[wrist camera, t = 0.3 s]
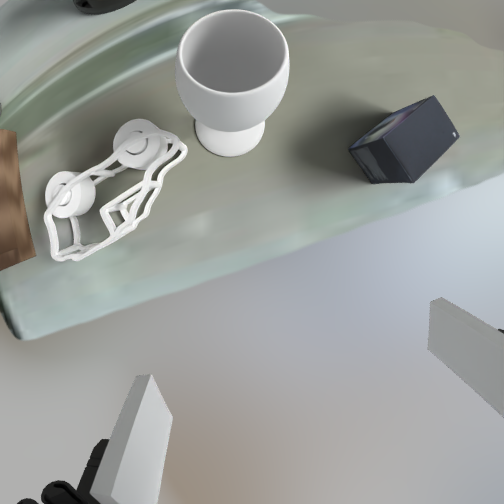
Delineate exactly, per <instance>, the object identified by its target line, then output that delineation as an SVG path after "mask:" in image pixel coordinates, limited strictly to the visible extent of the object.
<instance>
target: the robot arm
mask: <svg viewBox="0 0 504 504" xmlns="http://www.w3.org/2000/svg"><path fill="white" fill-rule="evenodd" d="M134 1H136V0H73V2H74V4H75V5H76V6H77V8H78V9H79V10H80V11H82V12H84V13H86V14H104V13H109V12H112V11H115V10H118V9H120V8H123V7H125V6H127V5H129V4H131V3H133V2H134ZM428 350H429V351H430V352H431V353H432V354H434V355H435V356H436V357H437V358H438V359H439V360H441V361H442V362H443V363H444V364H445V365H446V366H447V367H448V368H450V369H451V370H452V371H453V372H454V373H455V374H456V375H458V376H459V377H460V378H461V379H462V380H463V381H464V382H465V383H466V384H468V385H469V386H470V387H471V388H472V389H473V390H474V391H475V392H476V393H478V394H479V395H480V396H481V397H482V398H483V399H484V400H485V401H486V402H487V403H488V404H490V405H491V406H492V407H493V408H494V409H495V410H496V411H497V412H498V413H499V414H500V415H501V416H502V417H503V418H504V330H501V329H498V330H497V329H495V328H493V327H492V326H490V325H488V324H487V323H485V322H484V321H482V320H480V319H478V318H477V317H475V316H473V315H472V314H470V313H468V312H466V311H465V310H463V309H461V308H460V307H458V306H456V305H454V304H453V303H451V302H449V301H447V300H446V299H444V298H442V297H441V298H438V299H436V300H433V301H431V302H430V319H429V338H428ZM172 419H173V417H172V415H171V413H170V411H169V409H168V407H167V405H166V403H165V401H164V399H163V397H162V395H161V394H160V391H159V389H158V387H157V385H156V383H155V380H154V378H153V376H152V374H147V375H139V376H136V378H135V380H134V382H133V385H132V387H131V389H130V391H129V394H128V396H127V398H126V401H125V403H124V406H123V408H122V410H121V413H120V415H119V418H118V420H117V422H116V425H115V427H114V430H113V432H112V435H111V437H110V439H102V440H101V441H100V442H99V443H98V444H97V445H96V446H95V447H94V449H93V451H92V453H91V456H90V459H89V460H88V463H87V467H86V468H85V470H84V473H83V475H82V477H81V480H80V483H79V485H78V488H77V490H75V489H74V488H73V487H72V486H71V485H70V484H69V483H67V482H65V481H59V480H58V481H55V482H51V483H50V484H48V485H47V486H46V487H45V488H44V489H43V492H42V494H41V500H42V502H43V503H44V504H157V503H158V497H159V491H160V485H161V479H162V473H163V468H164V462H165V456H166V451H167V446H168V440H169V435H170V430H171V425H172ZM17 504H38V503H37V502H36V501H35V500H33V499H28V498H26V499H23V500H21V501H19V502H18V503H17Z"/></svg>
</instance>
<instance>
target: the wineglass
mask: <svg viewBox="0 0 504 504" xmlns="http://www.w3.org/2000/svg"><path fill="white" fill-rule="evenodd" d="M288 77H289V52H288V46H287V43H286V40H285V38H284V36H283V34H282V32H281V31H280V30H279V29H278V27H277V26H276V25H275V24H273V23H272V22H271V21H270V20H268V19H267V18H265V17H263V16H261V15H259V14H256V13H253V12H250V11H245V10H236V9H232V10H222V11H217V12H214V13H211V14H208V15H206V16H204V17H202V18H200V19H199V20H197V21H196V22H195V23H193V24H192V25H191V26H190V27H189V28H188V29H187V31H186V32H185V33H184V35H183V36H182V38H181V40H180V43H179V46H178V50H177V55H176V63H175V79H176V85H177V90H178V93H179V96H180V98H181V100H182V102H183V104H184V106H185V107H186V109H187V110H188V111H189V113H190V114H191V115H192V116H193V117H194V118H195V119H196V122H195V128H196V133H197V136H198V138H199V140H200V142H201V143H202V145H203V146H204V147H205V148H206V149H208V150H209V151H211V152H212V153H214V154H217V155H220V156H225V157H234V156H239V155H242V154H245V153H247V152H249V151H250V150H251V149H253V148H254V147H255V146H256V145H257V144H258V142H259V141H260V139H261V138H262V135H263V132H264V127H265V121H264V120H265V119H266V118H268V117H269V116H270V115H271V114H272V112H273V111H274V110H275V109H276V107H277V106H278V104H279V103H280V101H281V99H282V97H283V95H284V93H285V90H286V87H287V83H288Z"/></svg>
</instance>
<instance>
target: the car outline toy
mask: <svg viewBox="0 0 504 504" xmlns="http://www.w3.org/2000/svg"><path fill="white" fill-rule="evenodd" d="M166 137H167V138H169V139H166ZM168 144H173V146H172V148H171V149H170V150H169V151H168V152H167V150H168ZM178 149H179V150H180V151H181V154H180V156H179V157H178V158H177V159H175V160H174V161H172V162H171V163H169V164H168V165H167V166H165V167H164V168H163V169H162V170H161V172H160V173H159V175H158V178H157V181H151V177H152V174H153V172H154V171H155V170H156V169H157V167H158V166H160V165H161V164H162V163H164V162H165V161H167V160H168V159H170V158H171V157H172V156H174V155H175V153H176V152H177V151H178ZM113 150H114V153H113V154H112V155H111V156H110V157H109V158H108V159H106V160H105V161H104V162H102V163H101V164H99V165H97V166H94V167H92V168H90V169H88V170H87V171H85V172H83V173H80V172H70V171H63V172H59V173H57V174H55V175H54V176H53V177H52V178H51V179H50V181H49V183H48V185H47V187H46V192H45V201H46V204H47V207H48V209H47V210H46V212H45V214H44V222H45V224H46V226H47V228H48V233H49V237H50V243H51V256H52V258H53V259H54V260H56V261H61V262H62V261H65V260H67V259H72V260H73V261H79V260H81V259H83V258H85V257H87V256H89V255H91V254H93V253H94V252H96V251H97V250H99V249H101V248H103V247H105V246H107V245H109V244H111V243H113V242H114V241H116V240H118V239H120V238H121V237H123V236H125V235H126V234H128V233H129V232H130V231H133V230H135V229H136V227H137V225H138V223H139V222H140V221H141V220H143V219H144V218H146V217H147V216H148V215H149V213H150V208H151V205H152V203H153V202H154V200H155V199H156V197H157V196H158V194H159V192H160V190H161V187H162V182H163V177H164V175H165V174H166V173H167V171H168V170H169V169H171V168H172V167H174V166H175V165H177V164H178V163H180V162H181V161H182V160H183V159H184V158H185V156H186V154H187V146H186V145H185V144H183V143H182V142H181V141H180V140H179V138H178V137H177V136H176V135H174V134H173V133H170V132H167V131H165V130H160V129H159V128H158V127H157V126H156V125H155V124H153V123H152V122H150V121H149V120H145V119H133V120H131V121H129V122H126V123H125V124H124V125H123V126H122V127H120V129H119V130H118V132H117V133H116V135H115V138H114V141H113ZM116 160H118V161H119V162H120V163H121V164H123V165H122V166H120V167H118V168H116V169H113V170H104V169H105V168H106V167H108V166H109V165H111V164H112V163H114V162H115V161H116ZM128 167H131V168H135V169H139V170H146V172H145V175H144V180H143V181H141V182H140V183H138V184H137V185H135V186H133V187H132V188H130V189H129V190H127V191H126V192H124V193H122V194H121V195H119V196H118V197H116V198H115V199H113V200H112V201H110V202H109V203H107V204H106V205H104V206H103V207H102V208H101V209H100V214H101V217H102V219H103V221H104V223H105V225H106V226H107V228H108V230H109V232H110V236H109V237H108V238H107V239H106V240H105V241H103V242H102V243H92V244H89V245H86V246H85V245H82V244H81V243H80V230H79V224H78V220H77V218H76V216H78V215H82V214H84V213H86V212H87V211H88V210H89V209H90V208H91V207H92V205H93V203H94V200H95V185H97V184H98V183H100V182H101V181H103V180H105V179H106V178H108V177H114V176H115V174H116V173H119V172H121V171H123V170H125V169H127V168H128ZM90 175H97V176H100V177H98V178H97V179H95V180H94V181H92V180H91V178H90V177H89V176H90ZM154 188H155V190H154V192H153V194H152V195H151V197H150V199H149V200H148V202H147V204H146V206H145V209H144V213H143V214H142V215H141V216H140V217H138V218H137V219H136V220H135V218H136V214H137V210H138V208H139V206H140V204H141V202H142V201H143V199H144V198H145V196H146V194H147V192H149V191H151V190H152V189H154ZM140 189H141V191H140V192H139V193H137V194H135V195H134V196H132V197H131V198H129V199H127V200H126V201H124V202H123V203H120V204H118V203H119V202H121V201H122V200H124V199H126V198H127V197H129V196H130V195H132V194H133V193H135V192H137V191H138V190H140ZM134 200H135V201H134ZM133 201H134V203H133V205H132V207H131V209H130V212H129V214H128V212H127V210H126V208H127V205H128V204H129V203H131V202H133ZM118 210H120V212H121V214H122V216H123V218H124V219H125V222H123V223H122V224H121V225H119V226H118V227H117V228H116V226H115V224H114V222H113V220H112V218H111V217H110V215H109V212H113V211H118ZM52 214H53V215H54V216H55V217H58V218H68V217H69V218H70V220H71V223H72V228H73V233H74V245H72V246H70V247H67V248H65V249H62V250H60V251H59V242H58V236H57V231H56V226H55V224H54V222H53V219H52ZM76 250H82V251H80V252H76V253H71V252H73V251H76ZM69 253H71V254H69ZM67 254H68V255H67ZM65 255H66V256H65Z"/></svg>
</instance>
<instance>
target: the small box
mask: <svg viewBox="0 0 504 504" xmlns="http://www.w3.org/2000/svg"><path fill="white" fill-rule="evenodd" d="M459 137H460V135H459V134H458V132H457V130H456V129H455V127H454V125H453V124H452V122H451V120H450V119H449V117H448V115H447V114H446V112H445V111H444V109H443V107H442V106H441V104H440V103H439V101H438V100H437V98H436V97H435V96H434V95H433V96H431V97H428V98H426V99H423V100H421V101H419V102H416V103H414V104H412V105H409V106H407V107H405V108H402V109H400V110H398V111H396V112H394V113H392V114H391V115H390V116H388V117H387V118H386V119H384V120H383V121H382V122H381V123H379V124H378V125H377V126H375V127H374V128H373V129H372V130H370V131H369V132H368V133H367V134H365V135H364V136H363V137H362V138H360V139H359V140H358V141H357V142H356V143H354V144H353V145H352V146H351V147H349V148H348V150H349V152H350V153H351V155H352V156H353V158H354V159H355V160H356V162H357V163H358V164H359V166H360V167H361V169H362V170H363V171H364V173H365V174H366V176H367V177H368V179H369V180H370V182H371V183H372V184H380V183H414V182H415V181H416V180H418V179H419V178H420V177H421V176H422V175H423V174H424V173H425V172H426V171H427V170H428V169H429V168H430V167H431V166H432V165H433V164H434V163H435V162H436V161H437V160H438V159H439V158H440V157H441V156H442V155H443V154H444V153H445V152H446V151H447V150H448V149H449V148H450V147H451V146H452V145H453V144H454V143H455V141H456V140H457V139H458V138H459Z"/></svg>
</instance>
